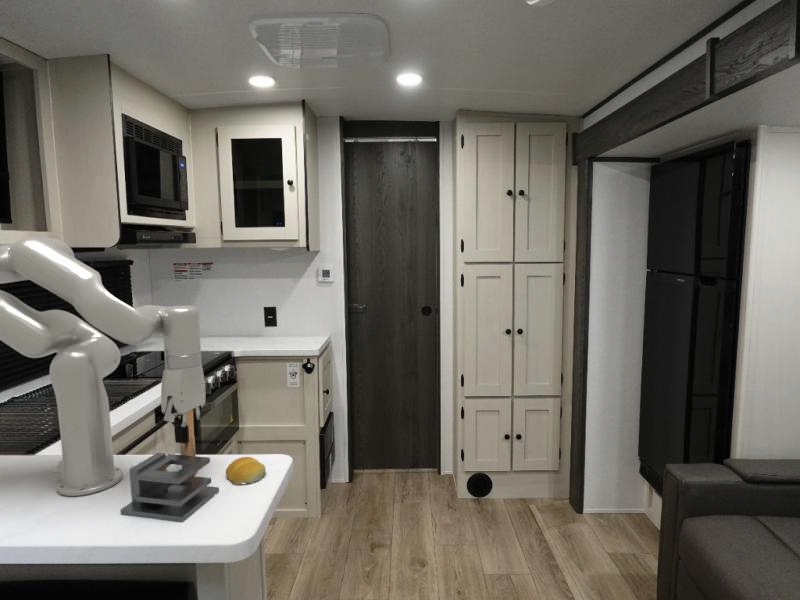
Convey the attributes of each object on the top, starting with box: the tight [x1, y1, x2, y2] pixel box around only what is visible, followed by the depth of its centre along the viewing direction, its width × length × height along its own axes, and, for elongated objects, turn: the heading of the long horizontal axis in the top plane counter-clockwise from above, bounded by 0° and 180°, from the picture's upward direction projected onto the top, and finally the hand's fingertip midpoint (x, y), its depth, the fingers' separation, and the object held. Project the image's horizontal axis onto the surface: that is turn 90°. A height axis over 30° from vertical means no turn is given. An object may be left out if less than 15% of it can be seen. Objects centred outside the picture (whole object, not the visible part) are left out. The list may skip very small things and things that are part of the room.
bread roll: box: [225, 456, 266, 485], centre depth 114 cm, size 8×9×4 cm
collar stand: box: [120, 452, 220, 523], centre depth 103 cm, size 14×12×8 cm
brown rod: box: [178, 409, 197, 476], centre depth 114 cm, size 3×3×20 cm
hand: (187, 438), depth 115 cm, fingers closed on brown rod, 3 cm apart
